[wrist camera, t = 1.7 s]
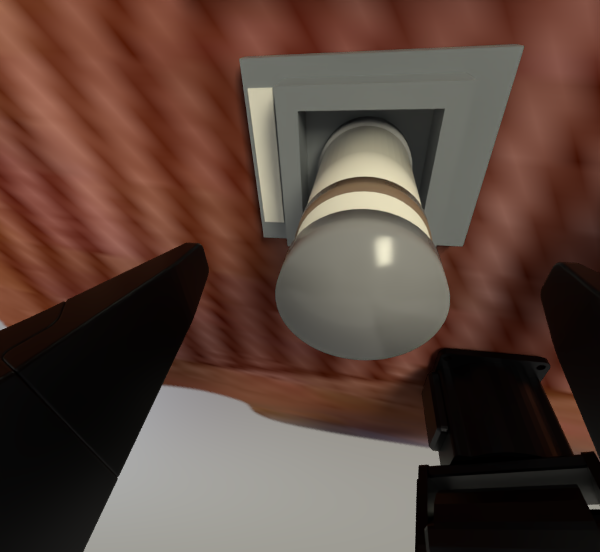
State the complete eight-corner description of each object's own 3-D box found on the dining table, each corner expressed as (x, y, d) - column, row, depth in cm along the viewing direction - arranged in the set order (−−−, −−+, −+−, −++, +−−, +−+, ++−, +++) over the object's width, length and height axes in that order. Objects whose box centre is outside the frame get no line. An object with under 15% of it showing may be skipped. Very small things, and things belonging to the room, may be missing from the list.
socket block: (516, 44, 12) (546, 50, 10) (459, 237, 17) (471, 268, 15) (245, 56, 13) (223, 64, 11) (267, 229, 18) (254, 256, 16)
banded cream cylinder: (417, 115, 13) (472, 238, 6) (403, 204, 15) (429, 367, 8) (320, 116, 13) (266, 229, 6) (321, 202, 16) (282, 352, 9)
